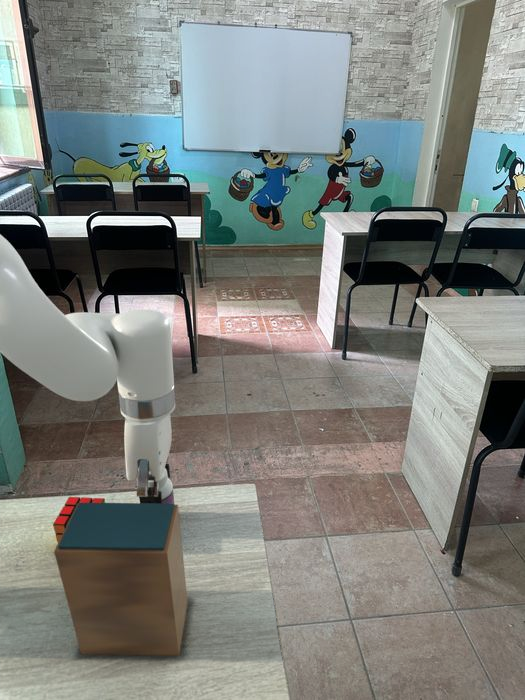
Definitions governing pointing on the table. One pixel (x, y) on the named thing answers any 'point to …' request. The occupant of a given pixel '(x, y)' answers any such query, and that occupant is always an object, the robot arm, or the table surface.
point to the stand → (127, 596)
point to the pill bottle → (164, 488)
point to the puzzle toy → (70, 513)
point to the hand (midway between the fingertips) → (156, 497)
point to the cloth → (118, 526)
